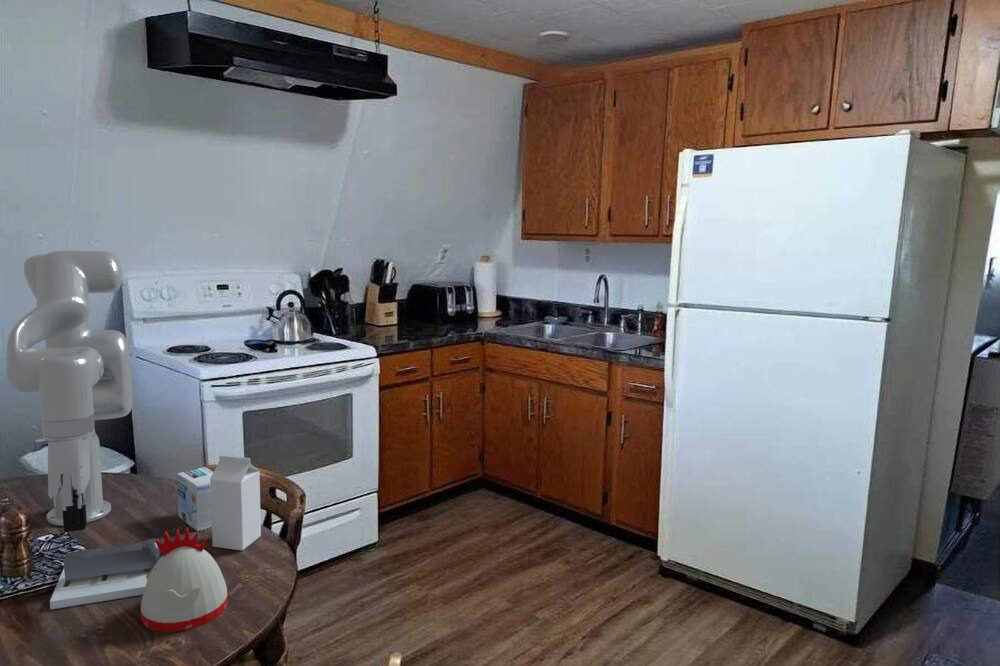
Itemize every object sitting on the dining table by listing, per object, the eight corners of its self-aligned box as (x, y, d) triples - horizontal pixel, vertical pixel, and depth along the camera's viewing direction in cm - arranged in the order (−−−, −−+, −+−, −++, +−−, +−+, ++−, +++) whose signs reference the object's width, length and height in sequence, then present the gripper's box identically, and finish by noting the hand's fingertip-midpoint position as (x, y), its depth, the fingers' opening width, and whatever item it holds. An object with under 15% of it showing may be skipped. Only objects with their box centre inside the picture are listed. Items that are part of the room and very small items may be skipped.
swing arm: (68, 576, 125) (66, 550, 125) (161, 562, 131) (160, 537, 131) (65, 584, 123) (63, 557, 122) (160, 570, 129) (159, 544, 128)
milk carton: (242, 551, 141) (240, 464, 138) (212, 547, 142) (209, 460, 139) (261, 536, 148) (259, 453, 145) (232, 532, 149) (229, 450, 146)
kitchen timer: (146, 595, 123) (142, 517, 121) (227, 583, 128) (225, 508, 126) (136, 638, 111) (131, 552, 108) (226, 623, 116) (224, 540, 113)
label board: (68, 564, 133) (68, 556, 133) (153, 552, 139) (153, 544, 139) (50, 609, 118) (49, 600, 118) (146, 593, 124) (146, 584, 123)
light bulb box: (177, 517, 156) (175, 472, 154) (206, 509, 161) (205, 465, 159) (197, 532, 149) (195, 485, 147) (227, 523, 154) (225, 478, 152)
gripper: (52, 417, 120) (59, 516, 123) (31, 440, 107) (40, 550, 109) (100, 414, 123) (106, 510, 126) (86, 436, 110) (93, 543, 112)
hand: (75, 528), depth 117 cm, fingers closed
